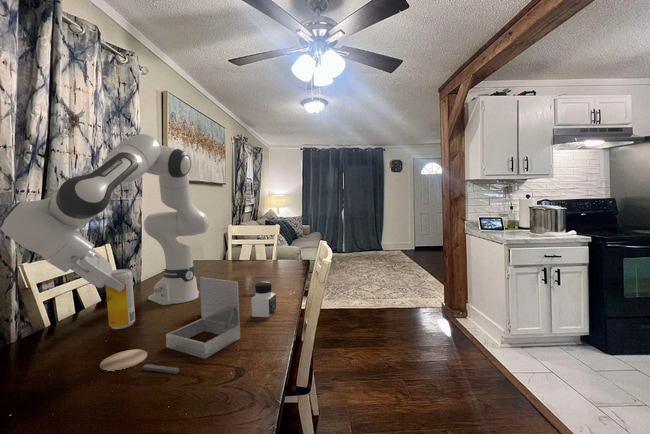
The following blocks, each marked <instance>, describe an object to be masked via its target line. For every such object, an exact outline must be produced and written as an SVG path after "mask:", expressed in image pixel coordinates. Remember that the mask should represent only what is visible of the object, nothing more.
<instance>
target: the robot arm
mask: <svg viewBox="0 0 650 434" xmlns="http://www.w3.org/2000/svg"><path fill="white" fill-rule="evenodd" d="M191 167H192V160H191V157H190V155H189V154H188V153H187V152H186V151H184V150H182V149H179V148H174V147H171V146H166V145H163V144H162V145H161V144H160V143H159V142H158V141H157V140H156V139H155V138H154V137H153V136H151V135H149V134H145V133H140V134H137V135H133V136H131V137H129V138H127V139H125V140H124V141H122V142H120V143H119V144H118V145H116V146H115V147H114V148H112V150H111V151H109V152H108V153H107V155H106V156H105V158H104V159H103V164H102V165H100V166H98V168H96V169H95V170H94V171H93V172H90V173H87V174H82V175H78V176H74V177H70V178H68V179H66V180H65V181H64V182H62V184H61V185H60V187H59V189H58V191H56V193H55V194H54V195H53V196H51V197H47V198H43V199H38V200H30V201H29V200H28V201H26V200H21V201H19V202H17V203H15V204H14V205H13V206H12V207H11V208H10V209H9V210H8V211H7V212H6V214H5V215H4V216H3V217H2V218H1V220H0V230H1V231H2V232H3V233H4V234H5V235H6V237H7V236H8V238H10V239H11V240H13V242H15V243H17V244H19V245H20V246H21V247H23V248H24V249H27V250H28V251H30V252H33V253H36V254H38V255H40V256H41V257H42V258H43V260H44V261H46V262H48V263H49V264H50V265H52V266H54V267H55V268H57V269H58V270H60V271H62V272H64V273H67V272H69V270H72V271H73V272H74V273H75V274H76V275H78V276H79V277H81V278H82V279H83V280H85V281H87V282H88V283H89V284H91V285H93V286H94V287H96V288H98V289H102V288H103V287H105V286H106V285H107V286H109V287H111V288H114V289H116V290H117V291H122V290H123V289H124V287H125V286H124V284H122V283H121V282H118V281H117V280H115V279H114V278H113V277H112V276H111V271H113V269H112V264H111V262H110V261H109V260H107V258H105V257H104V256H103V255H102V254H101V253H99V252H98V251H97V250H96V249H94V247H95V244H94V243H93V242H91V241H89V240H88V239H87V238H85V237H84V236H82V235H80V234H79V233H78V232H76V231H77V230H80V229H83V227H85V226H86V225H87V224H88V223H89V222H90V221H91V220H92V219H93V218H95V217H96V216H98V215H99V214H100V213H102V212H103V211H105V210H106V209H107V207H108V205H109V203H110V200H111V196H112V193H113V191H114V190H115V189H116V188H117V187H118V186H120V184H122V183H132V182H134V181H136V180H138V179H139V178H140V177H142V176H143V175H145V174H146V173H147V174H150V175H153V176H158V181H159V192H160V193H159V194H160V200H161V202H162V203H163V204H164V206H166V207H167V208H171V209H173V210H175V211H160V212H159V211H158V212H155V213H154V212H153V213H149V214H148V215H147V216H146V217H145V219H144V222H143V228H144V231H145V233H146V234H147V236H149V237H151V238H153V239H154V240H156V242H157V243H159V245H160V247H161V248H162V250H163V253H164V258H165V259H164V260H165V269H163V270H162V273H163V276H162V278H160V280H159V281H157V283H155V284H154V286H153V294H150V295H149V296H148V297H147V300H148V301H151V302H154V303H156V304H158V305H162V306H166V305H173V304H182V303H183V304H184V303H186V302H190V301H194V300H197V299H198V298H200V295H199V294H200V290H198V285H197V284H198V283H197V278H196V276H195V273H196V271H195V270H196V269H195V265H194V255H193V252H194V251H193V249H192V247H191V246H189V245H187V244H185V243H182V242H180V241H178V239H177V237H186V236H187V237H188V236H189V237H190V236H197V235H202V234H205V233H206V232H207V230H208V228H209V225H210V220H209V218H208V216H207V214H206V213H205V212H204V211H201V210H200V209H198V208H197V207H196V206H195V204H194V203H193V200H192V198H191V193H190V180H189V173H190V170H191Z"/></svg>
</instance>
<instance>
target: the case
mask: <svg viewBox="0 0 650 434" xmlns="http://www.w3.org/2000/svg"><path fill="white" fill-rule="evenodd" d="M199 285H200V286H199V291H200V290H201V299H200V312H201V311H202V316H201V318H200V319H198V320H196V321H193V322H191V323H188V324H186V325H184V326H181V327H179V328H177V329H175V330H173V331H170V332H168V333H166V334H165V345H166V346H165V347H166V348H167V349H171V350H174V351H177V352H181V353H184V354H188V355H191V356H194V357H198V358H201V359H208V358H209V357H211V356H213V355H214V354H216V353H217V352H219V351H221V350H222V349H224V348H226V347H228V346H230V345H231V344H233V343H234V342H236V341H238V340H240V339H241V324H240V322H241V321H240V320H241V318H240V301H239V300H240V299H239V297H240V296H239V282H238V281H234V280H229V279H228V280H225V279H218V278H213V277H211V278H210V277H203V276H200V277H199ZM202 332H207V333H212V334H216V335H217V336H215V337H213V338H212V339H209V340H207V341H206V342H204V341H199V340H195V339H191V337H194V336H196V335H198V334H200V333H202Z"/></svg>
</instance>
